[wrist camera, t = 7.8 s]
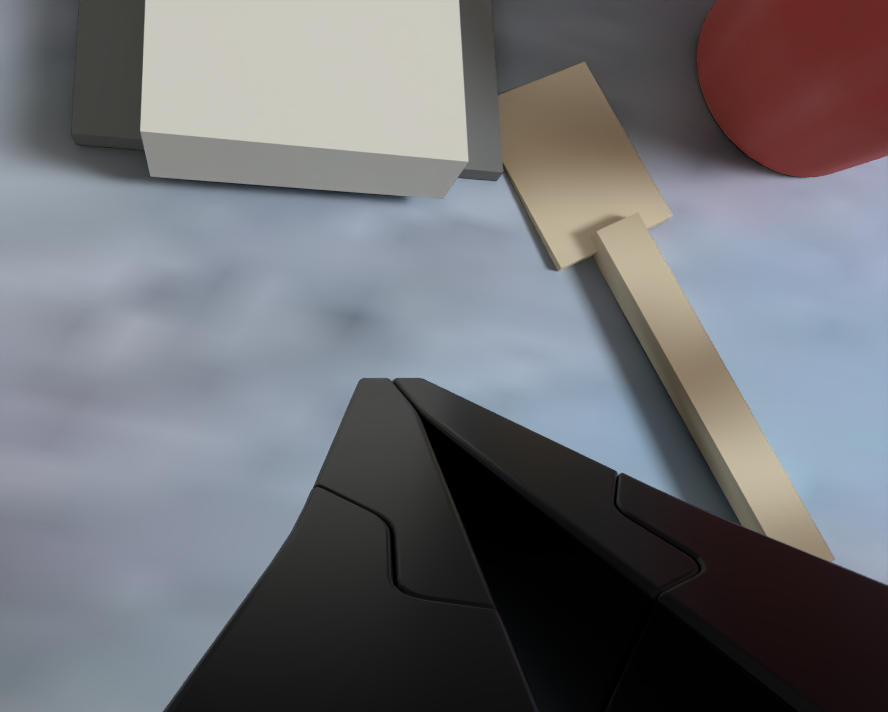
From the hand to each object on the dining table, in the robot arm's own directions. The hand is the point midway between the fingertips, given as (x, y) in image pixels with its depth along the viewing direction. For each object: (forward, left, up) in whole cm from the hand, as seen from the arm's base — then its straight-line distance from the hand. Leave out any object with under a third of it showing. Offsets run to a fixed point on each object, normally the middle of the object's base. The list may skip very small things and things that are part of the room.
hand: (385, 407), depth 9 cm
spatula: (+1, -12, -10) cm, 16 cm away
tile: (+7, -2, -9) cm, 11 cm away
